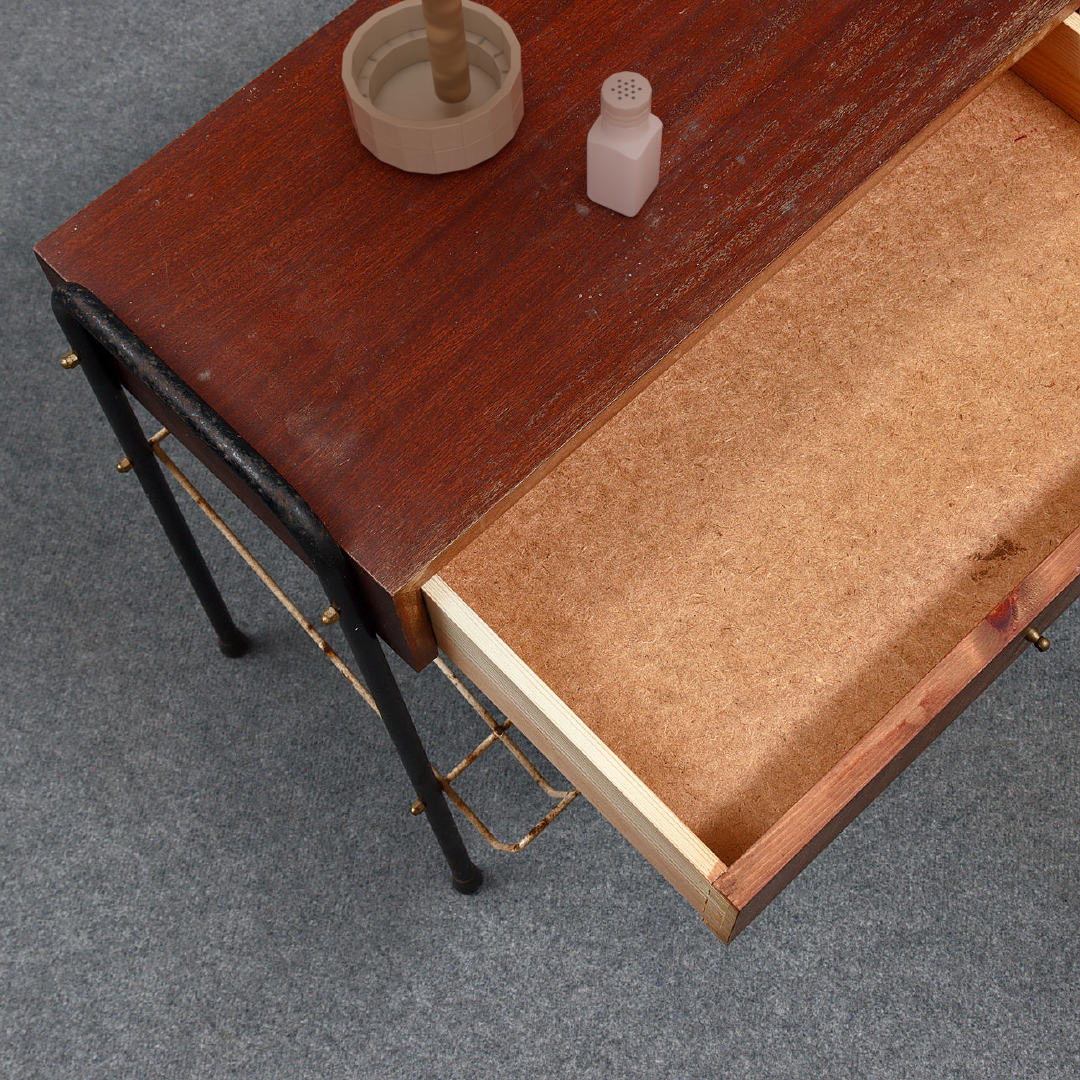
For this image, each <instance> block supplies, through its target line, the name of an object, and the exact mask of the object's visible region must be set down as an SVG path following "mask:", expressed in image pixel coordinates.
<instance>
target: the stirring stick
mask: <svg viewBox="0 0 1080 1080" xmlns="http://www.w3.org/2000/svg"><path fill="white" fill-rule="evenodd" d="M421 1H422V8H423V15H424V21H425V28H426V35H427V42H428V49H429V55H430V62H431V69H432V76H433V83H434V89H435V94H436V96H437V98H438V99H439V100H441V101H442V102H445V103H449V104H455V103H459V102H462V101H464V100H465V99H466V98H467V97H468V96H469V95H470V93H471V81H470V72H469V64H468V55H467V46H466V37H465V28H464V19H463V10H462V1H461V0H421Z"/></svg>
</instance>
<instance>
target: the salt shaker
mask: <svg viewBox="0 0 1080 1080" xmlns="http://www.w3.org/2000/svg"><path fill="white" fill-rule="evenodd" d="M652 94H653V89H652V87H651V84H650V81H649V80H648V79H647V78H646V77H644V76H643V75H642V74H641V73H638V72H634V71H627V70H625V71H620V72H616V73H613V74H611V75H610V76H608V77H607V78H606V79H604V80H603V83H602V86H601V89H600V115H598V117H597V118H596V120H595V122H594V123H593V124H592V126H591V128H590V129H589V131H588V133H587V139H586V195H587V197H588V199H589V200H591V202H594V203H595V204H598V205H601V206H603V207H605V208H607V209H610V210H612V211H615V212H616V213H619V214H622V215H624V216H626V217H631V218H633V217H635V216H636V215H638V213H639V212H640V210H641V209H642V208H643V206H644V205H645V203H646V202H647V200H648V199H649V197H650V196H651V195H652V193H653V192H654V190H655V189H656V187H657V186H658V184H659V180H660V166H661V165H660V164H661V154H662V153H661V152H662V140H663V139H662V137H663V126H664V125H663V122H662V121H661V119H660V118H659V117H658V116H657V115H655V114H653V113H651V112H652V98H653V97H652Z"/></svg>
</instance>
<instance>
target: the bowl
mask: <svg viewBox="0 0 1080 1080" xmlns="http://www.w3.org/2000/svg"><path fill="white" fill-rule="evenodd" d="M461 1H462V10H463V19H464V28H465V37H466V46H467V55H468V64H469V72H470V81H471V93H470V95H469V96H468V97H467V98H466V99H465V100H464V101H462V102H459V103H455V104H449V103H445V102H442V101H441V100H439V99H438V98H437V96H436V94H435V89H434V83H433V76H432V69H431V62H430V55H429V49H428V42H427V35H426V28H425V21H424V15H423V8H422V1H421V0H401V1H399V2H397V3H395V4H393V5H391V6H388V7H386V8H384V9H382V10H379V11H376V12H375V13H374V14H373V15H371V16H370V17H369V18H368V19H367V20H366V21H365V22H363V23H362V24H361V25H360V26H359V27H358V28H357V29H355V31H354V32H353V34H352V35H351V38H350V39H349V42H348V43H347V44H346V47H345V48H344V50H343V52H342V61H341V62H342V63H341V74H340V75H341V81H342V85H343V90H344V93H345V98H346V102H347V106H348V111H349V115H350V120H351V123H352V125H353V127H354V131H355V132H356V135H357V137H358V139H359V143H360V144H362V145H363V146H364V147H365V148H366V149H367V150H368V151H369V152H370V153H371V154H372V155H373V156H374V157H375V158H376V159H378V160H379V161H381V162H383V163H385V164H388V165H389V166H392V167H395V168H398V169H399V170H402V171H405V172H410V173H419V174H429V175H439V174H446V173H451V172H457V171H463V170H467V169H470V168H472V167H475V166H476V165H478V164H481V163H483V162H485V161H486V160H488V159H491V158H493V157H494V156H496V155H497V154H498V153H499V152H501V150H502V149H503V148H504V147H505V146H506V145H507V144H508V143H510V141H511V140H512V139H513V138H514V137H515V134H516V133H517V130H518V129H519V126H520V125H521V122H522V119H523V118H524V115H525V98H524V97H525V93H524V79H523V78H524V77H523V63H522V62H523V61H522V48H521V44H520V42H519V40H518V38H517V36H516V34H515V32H514V30H513V28H512V26H511V24H510V23H508V22H507V21H506V20H505V19H503V17H501V16H500V15H499V14H497V12H495V11H494V10H492V9H491V8H490V7H488V6H486V5H483V4H480V3H478V2H474V1H472V0H461Z"/></svg>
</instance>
